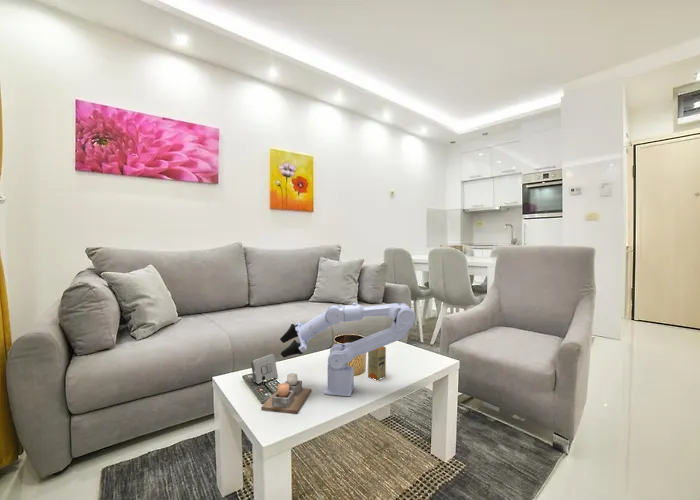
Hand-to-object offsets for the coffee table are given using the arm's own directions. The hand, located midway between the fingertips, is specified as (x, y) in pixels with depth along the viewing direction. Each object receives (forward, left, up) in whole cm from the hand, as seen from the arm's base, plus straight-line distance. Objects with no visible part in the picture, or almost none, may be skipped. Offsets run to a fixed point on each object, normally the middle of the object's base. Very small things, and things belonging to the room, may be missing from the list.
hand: (281, 347), depth 113 cm
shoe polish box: (-33, -17, -16) cm, 40 cm away
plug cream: (-5, +3, -11) cm, 13 cm away
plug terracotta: (-5, +11, -11) cm, 17 cm away
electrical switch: (+10, -6, -16) cm, 19 cm away
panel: (-5, +7, -15) cm, 17 cm away
